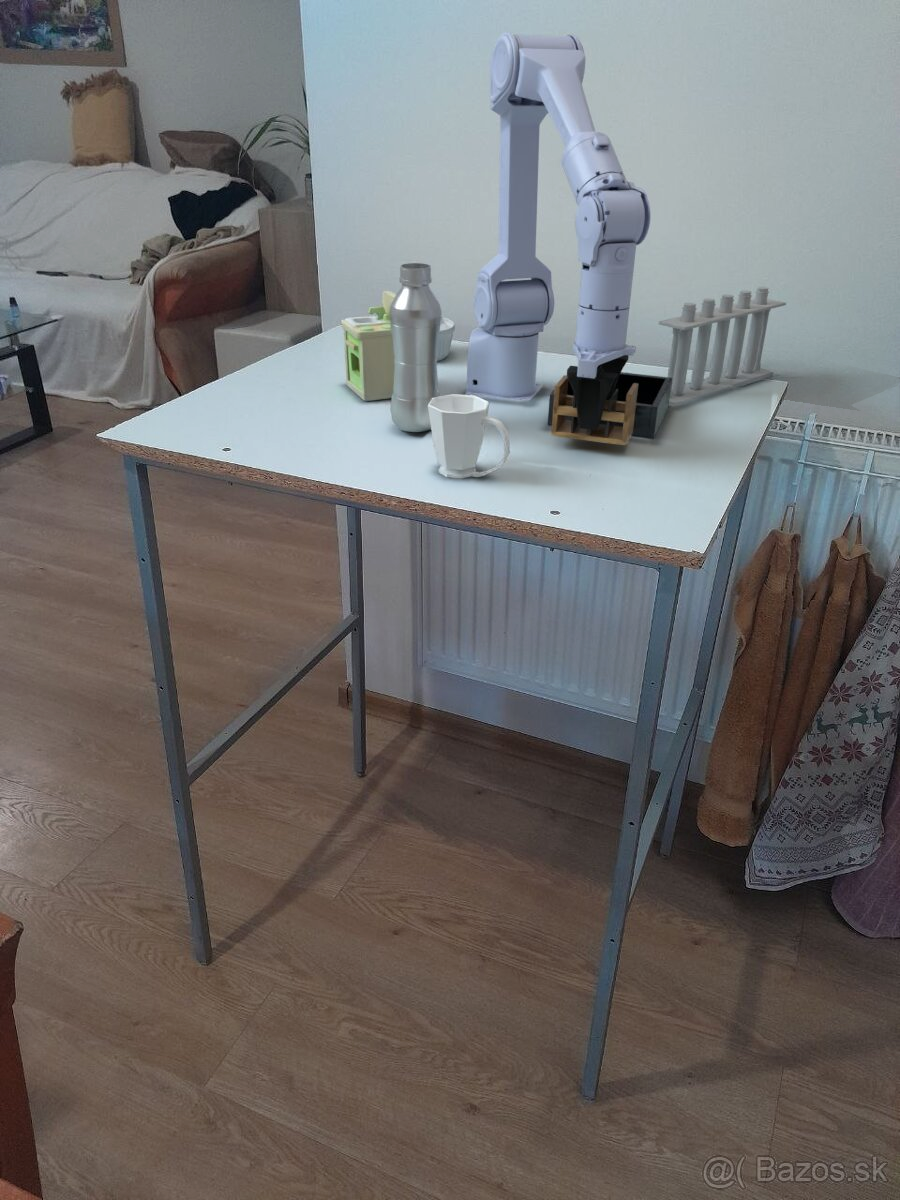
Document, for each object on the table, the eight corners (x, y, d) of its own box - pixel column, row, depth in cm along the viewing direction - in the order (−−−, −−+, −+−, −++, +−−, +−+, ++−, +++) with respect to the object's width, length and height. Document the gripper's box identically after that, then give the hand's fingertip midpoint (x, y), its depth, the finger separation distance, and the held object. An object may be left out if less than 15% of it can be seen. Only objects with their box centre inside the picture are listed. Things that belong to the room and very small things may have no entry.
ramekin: (461, 363, 147) (462, 329, 144) (390, 366, 145) (390, 332, 142) (446, 345, 157) (446, 312, 154) (379, 347, 154) (379, 315, 152)
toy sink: (341, 385, 136) (337, 292, 130) (389, 380, 139) (388, 288, 132) (360, 402, 129) (357, 305, 123) (410, 397, 132) (409, 301, 125)
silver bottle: (448, 424, 122) (451, 263, 112) (430, 441, 117) (431, 273, 107) (402, 418, 124) (400, 259, 114) (382, 434, 118) (379, 268, 108)
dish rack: (551, 435, 113) (554, 385, 110) (560, 423, 117) (564, 375, 114) (625, 445, 110) (631, 394, 107) (632, 432, 114) (638, 383, 111)
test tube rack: (673, 408, 129) (687, 310, 123) (647, 401, 132) (659, 304, 125) (773, 376, 144) (790, 287, 137) (747, 369, 147) (763, 282, 140)
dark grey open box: (547, 429, 121) (549, 394, 119) (570, 399, 132) (573, 366, 130) (653, 443, 117) (657, 407, 115) (668, 410, 128) (672, 377, 126)
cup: (448, 455, 112) (449, 389, 108) (521, 474, 108) (525, 405, 104) (414, 474, 107) (414, 405, 103) (490, 494, 102) (493, 422, 98)
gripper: (628, 322, 99) (615, 445, 105) (649, 295, 111) (636, 407, 117) (562, 316, 101) (553, 437, 107) (590, 290, 113) (580, 401, 119)
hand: (593, 421), depth 113 cm, fingers closed on dish rack, 5 cm apart
